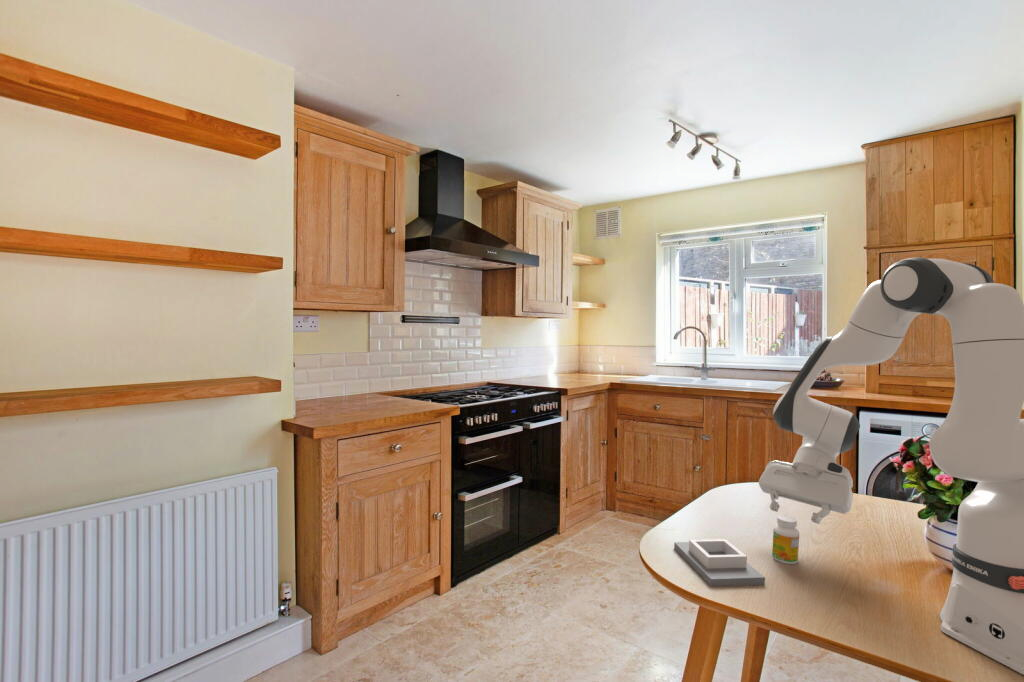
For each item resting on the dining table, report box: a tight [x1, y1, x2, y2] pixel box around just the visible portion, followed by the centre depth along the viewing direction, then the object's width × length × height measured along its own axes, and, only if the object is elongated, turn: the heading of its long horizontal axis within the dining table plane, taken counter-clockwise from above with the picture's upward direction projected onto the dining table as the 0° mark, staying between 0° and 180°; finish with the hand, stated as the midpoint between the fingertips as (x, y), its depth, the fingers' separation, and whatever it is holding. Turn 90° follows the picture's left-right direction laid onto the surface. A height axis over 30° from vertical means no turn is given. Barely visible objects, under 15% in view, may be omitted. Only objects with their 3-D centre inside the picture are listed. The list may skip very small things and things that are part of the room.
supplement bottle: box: [771, 515, 800, 565], centre depth 124 cm, size 5×5×10 cm
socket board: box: [673, 538, 766, 587], centre depth 120 cm, size 18×12×4 cm, turn 7°
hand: (793, 515), depth 127 cm, fingers open, 8 cm apart
